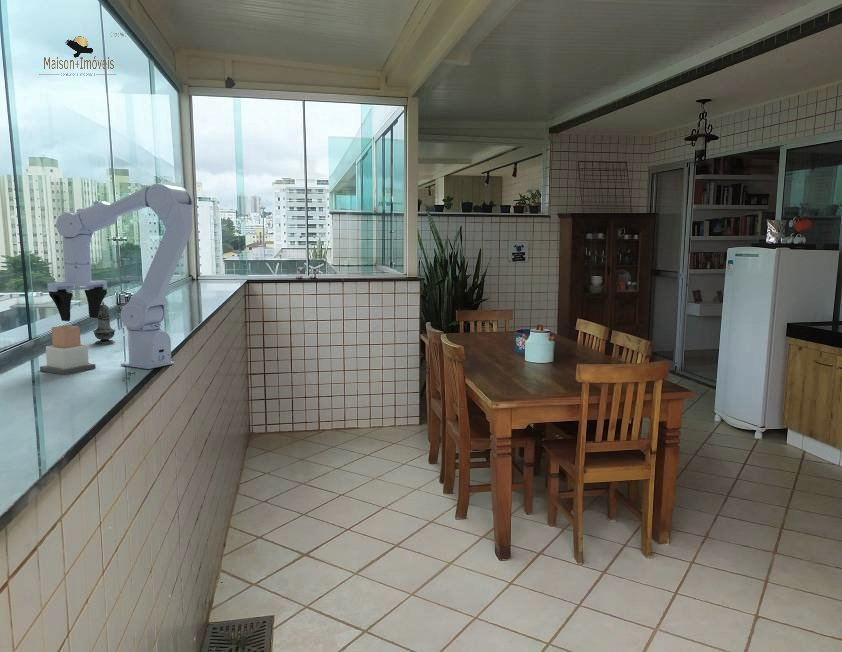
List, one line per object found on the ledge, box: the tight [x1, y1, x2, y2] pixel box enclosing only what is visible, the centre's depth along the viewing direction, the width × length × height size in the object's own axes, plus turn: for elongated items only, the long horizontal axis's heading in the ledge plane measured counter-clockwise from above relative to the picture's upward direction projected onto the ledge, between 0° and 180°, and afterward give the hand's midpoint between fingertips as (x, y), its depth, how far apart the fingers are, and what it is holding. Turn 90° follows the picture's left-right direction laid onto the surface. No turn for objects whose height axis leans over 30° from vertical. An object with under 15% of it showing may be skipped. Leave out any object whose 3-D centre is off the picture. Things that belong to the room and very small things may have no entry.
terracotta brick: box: [51, 325, 81, 348], centre depth 141 cm, size 4×4×5 cm
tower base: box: [39, 344, 97, 376], centre depth 142 cm, size 8×8×6 cm
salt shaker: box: [92, 301, 116, 345], centre depth 177 cm, size 6×6×12 cm
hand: (80, 319), depth 151 cm, fingers open, 7 cm apart
